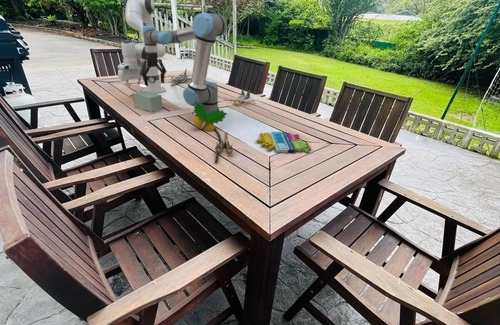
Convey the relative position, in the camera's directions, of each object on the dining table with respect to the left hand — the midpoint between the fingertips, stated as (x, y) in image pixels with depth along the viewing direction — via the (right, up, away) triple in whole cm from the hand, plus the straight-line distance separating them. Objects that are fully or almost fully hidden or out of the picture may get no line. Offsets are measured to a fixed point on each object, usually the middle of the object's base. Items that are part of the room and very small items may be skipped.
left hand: (134, 85), depth 191 cm
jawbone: (+71, -51, -52) cm, 102 cm away
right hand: (+18, -1, -6) cm, 19 cm away
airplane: (+14, +26, +78) cm, 83 cm away
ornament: (+59, -35, -26) cm, 74 cm away
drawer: (+6, -14, +3) cm, 16 cm away
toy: (+78, -5, +30) cm, 84 cm away
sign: (+104, -45, -38) cm, 119 cm away
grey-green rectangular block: (+11, -17, +1) cm, 20 cm away
